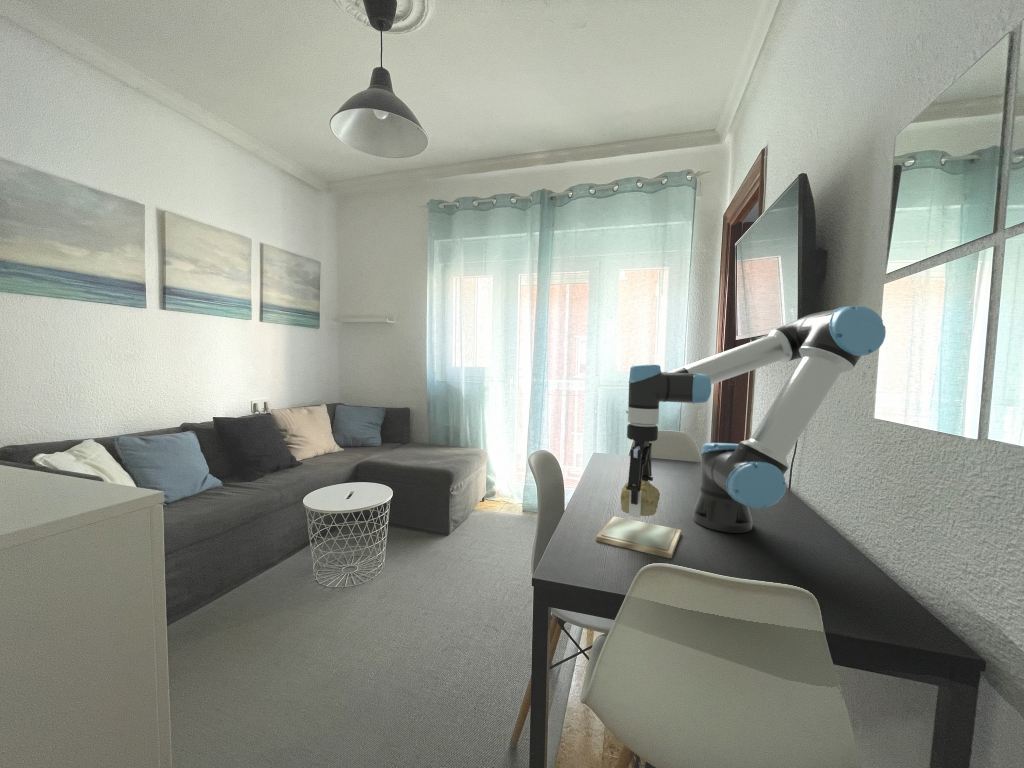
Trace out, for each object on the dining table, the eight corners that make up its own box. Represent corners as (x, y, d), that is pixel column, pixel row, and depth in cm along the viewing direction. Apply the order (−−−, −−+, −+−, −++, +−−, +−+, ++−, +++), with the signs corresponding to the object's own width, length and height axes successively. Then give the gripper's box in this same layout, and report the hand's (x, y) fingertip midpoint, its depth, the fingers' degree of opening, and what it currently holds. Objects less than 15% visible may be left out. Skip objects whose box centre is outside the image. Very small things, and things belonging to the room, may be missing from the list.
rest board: (680, 534, 107) (680, 529, 107) (671, 558, 93) (671, 552, 93) (613, 520, 116) (613, 515, 116) (596, 540, 102) (596, 535, 102)
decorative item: (624, 528, 102) (640, 505, 96) (609, 495, 109) (622, 472, 103) (655, 525, 104) (673, 502, 98) (639, 493, 112) (654, 470, 106)
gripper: (637, 418, 114) (634, 496, 115) (616, 427, 95) (612, 520, 96) (665, 421, 111) (661, 501, 112) (648, 431, 92) (644, 527, 93)
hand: (639, 510), depth 104 cm, fingers closed on decorative item, 9 cm apart
